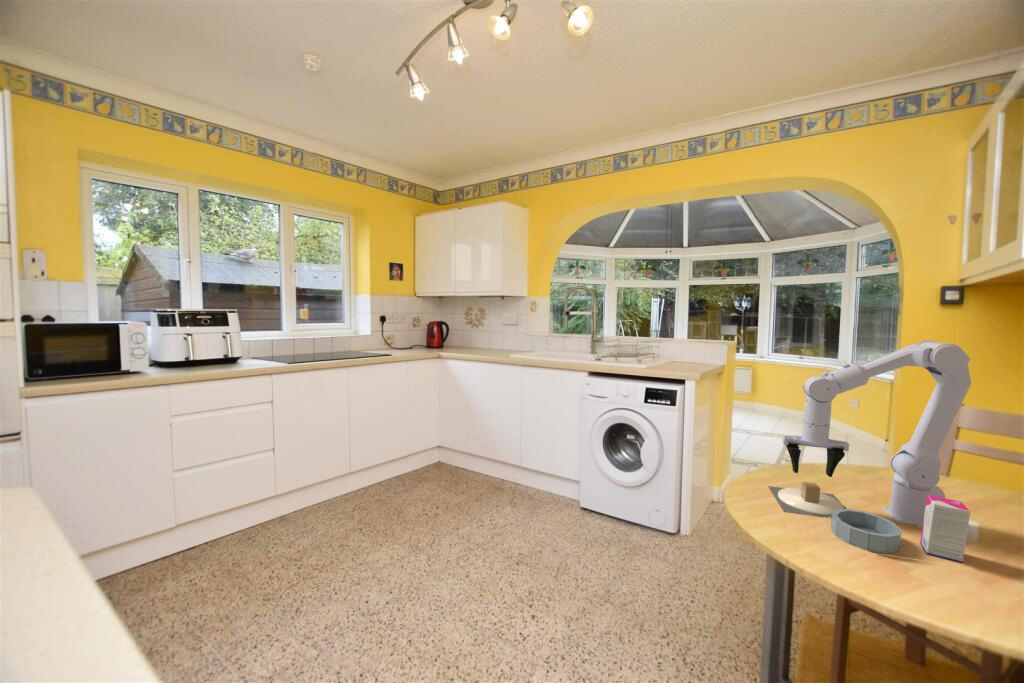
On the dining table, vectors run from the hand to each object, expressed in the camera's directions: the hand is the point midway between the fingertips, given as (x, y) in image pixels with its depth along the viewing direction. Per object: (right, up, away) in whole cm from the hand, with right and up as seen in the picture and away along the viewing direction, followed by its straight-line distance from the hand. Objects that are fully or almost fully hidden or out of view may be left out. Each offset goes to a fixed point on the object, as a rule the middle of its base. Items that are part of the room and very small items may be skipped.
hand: (811, 473), depth 117 cm
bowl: (+1, -10, -16) cm, 19 cm away
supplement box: (+13, -11, -21) cm, 27 cm away
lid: (0, -8, +1) cm, 8 cm away
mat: (0, -8, +1) cm, 8 cm away
